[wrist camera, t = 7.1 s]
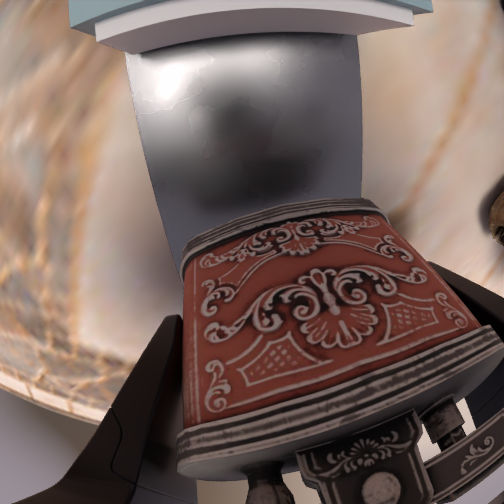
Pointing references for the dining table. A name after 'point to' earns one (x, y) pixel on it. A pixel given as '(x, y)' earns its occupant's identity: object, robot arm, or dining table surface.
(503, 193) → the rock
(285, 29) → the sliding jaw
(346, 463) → the lighter
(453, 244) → the dining table surface
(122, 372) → the dining table surface
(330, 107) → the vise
